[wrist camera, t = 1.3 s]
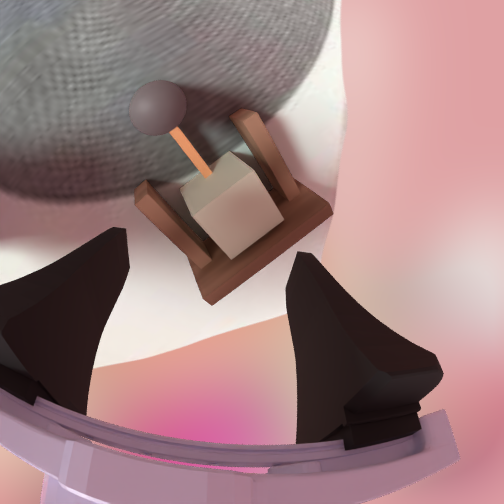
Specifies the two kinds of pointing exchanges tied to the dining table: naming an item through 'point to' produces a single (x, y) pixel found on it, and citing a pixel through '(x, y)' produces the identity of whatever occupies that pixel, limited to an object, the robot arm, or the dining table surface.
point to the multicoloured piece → (209, 175)
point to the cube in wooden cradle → (264, 249)
